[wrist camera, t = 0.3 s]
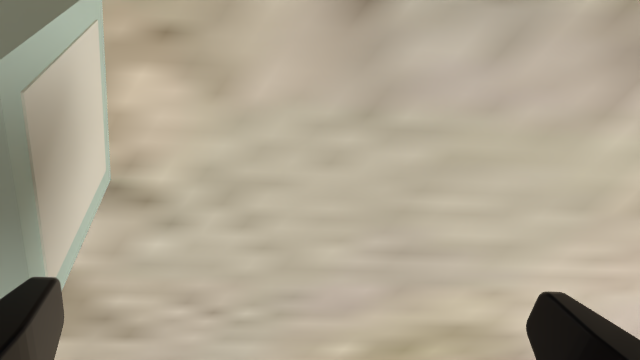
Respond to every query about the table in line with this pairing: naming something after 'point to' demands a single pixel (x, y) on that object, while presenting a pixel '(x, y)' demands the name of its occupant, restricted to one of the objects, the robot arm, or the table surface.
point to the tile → (50, 134)
